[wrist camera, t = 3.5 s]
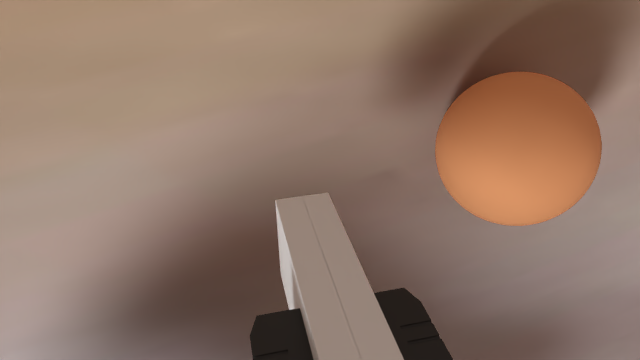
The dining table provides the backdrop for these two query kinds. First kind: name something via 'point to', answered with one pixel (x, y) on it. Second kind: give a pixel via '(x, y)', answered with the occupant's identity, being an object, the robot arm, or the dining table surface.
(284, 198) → the robot arm
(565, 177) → the ball
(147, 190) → the dining table surface
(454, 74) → the dining table surface
